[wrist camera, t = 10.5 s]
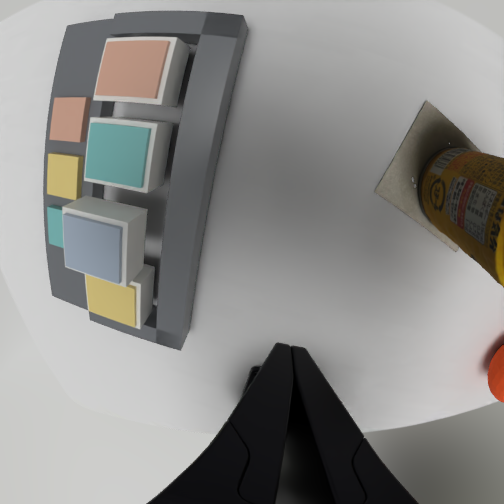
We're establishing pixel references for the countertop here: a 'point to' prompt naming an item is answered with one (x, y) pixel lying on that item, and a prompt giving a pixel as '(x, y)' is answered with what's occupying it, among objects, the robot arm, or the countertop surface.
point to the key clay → (142, 70)
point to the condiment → (450, 189)
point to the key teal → (127, 152)
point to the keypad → (184, 162)
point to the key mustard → (122, 298)
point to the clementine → (497, 374)
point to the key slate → (104, 239)
